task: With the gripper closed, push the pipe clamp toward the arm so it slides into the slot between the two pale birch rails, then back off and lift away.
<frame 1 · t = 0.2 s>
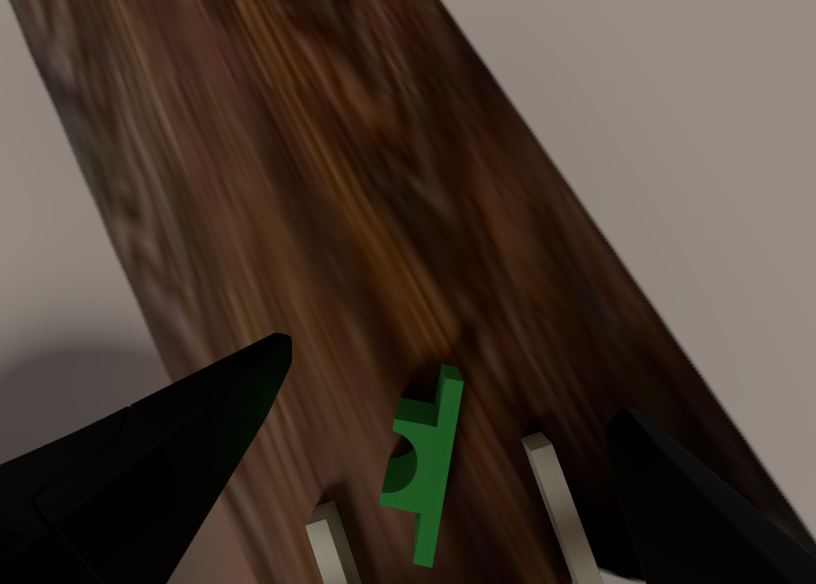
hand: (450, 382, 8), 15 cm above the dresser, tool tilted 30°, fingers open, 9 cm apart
pipe clamp: (420, 434, 23), on the dresser
slot rails: (454, 549, 23), on the dresser
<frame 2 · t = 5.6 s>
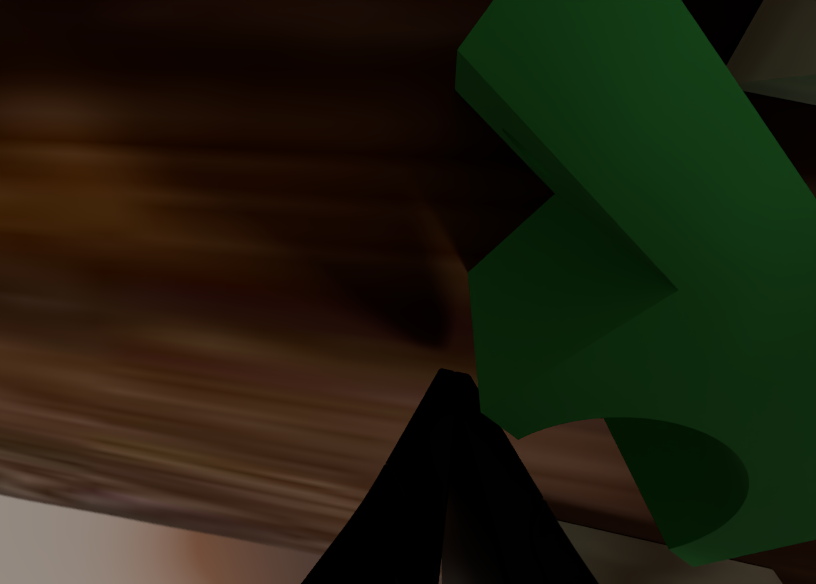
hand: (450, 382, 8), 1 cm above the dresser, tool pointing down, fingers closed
pipe clamp: (594, 276, 8), on the dresser
slot rails: (755, 422, 9), on the dresser
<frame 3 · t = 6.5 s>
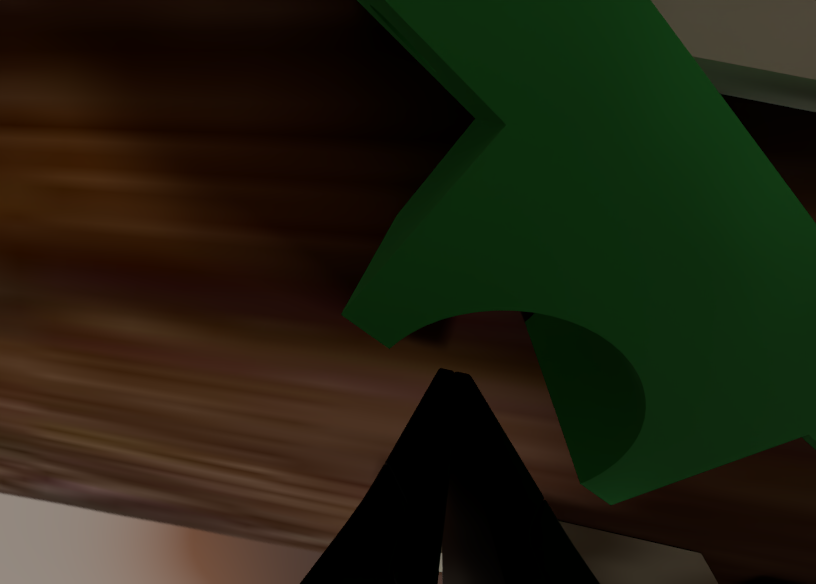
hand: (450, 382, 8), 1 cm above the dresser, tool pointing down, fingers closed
pipe clamp: (531, 217, 7), on the dresser, touching gripper
slot rails: (654, 400, 9), on the dresser
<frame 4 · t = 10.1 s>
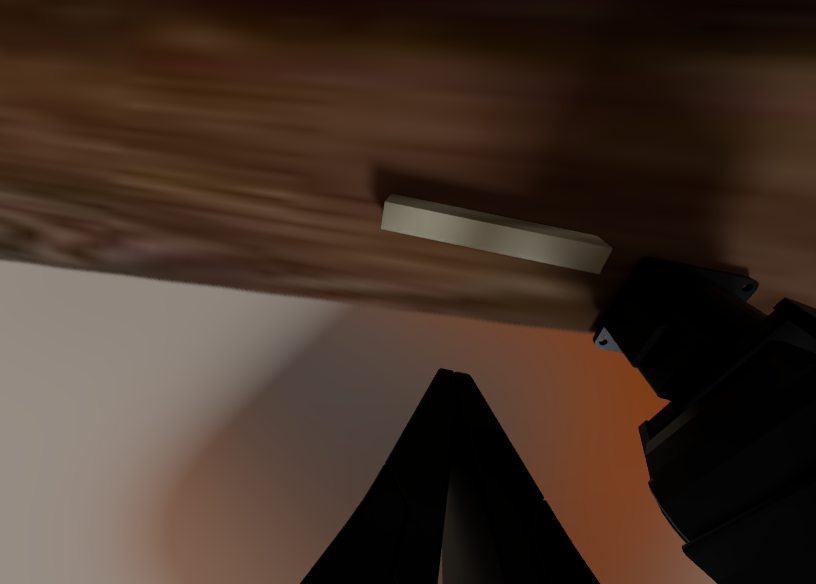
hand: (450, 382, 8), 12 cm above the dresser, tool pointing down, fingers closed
slot rails: (541, 60, 14), on the dresser
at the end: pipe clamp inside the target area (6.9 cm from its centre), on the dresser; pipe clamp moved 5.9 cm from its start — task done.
